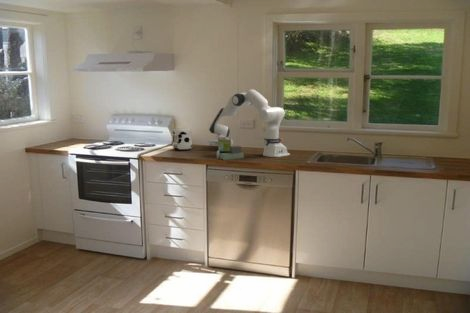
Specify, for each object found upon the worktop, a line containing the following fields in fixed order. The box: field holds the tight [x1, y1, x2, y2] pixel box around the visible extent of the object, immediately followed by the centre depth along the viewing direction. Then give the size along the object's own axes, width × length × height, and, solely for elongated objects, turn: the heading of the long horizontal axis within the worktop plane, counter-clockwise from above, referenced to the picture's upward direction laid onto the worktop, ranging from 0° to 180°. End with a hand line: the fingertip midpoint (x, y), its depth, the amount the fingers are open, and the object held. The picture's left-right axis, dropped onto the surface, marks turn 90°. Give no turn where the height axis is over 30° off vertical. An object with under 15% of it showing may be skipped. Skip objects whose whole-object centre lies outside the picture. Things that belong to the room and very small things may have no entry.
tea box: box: [217, 136, 232, 158], centre depth 367 cm, size 15×10×15 cm
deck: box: [216, 145, 245, 161], centre depth 357 cm, size 20×9×9 cm, turn 119°
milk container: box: [172, 127, 193, 151], centre depth 396 cm, size 17×17×18 cm
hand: (221, 143), depth 387 cm, fingers closed
